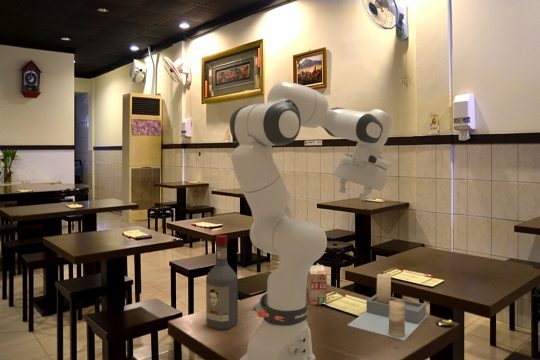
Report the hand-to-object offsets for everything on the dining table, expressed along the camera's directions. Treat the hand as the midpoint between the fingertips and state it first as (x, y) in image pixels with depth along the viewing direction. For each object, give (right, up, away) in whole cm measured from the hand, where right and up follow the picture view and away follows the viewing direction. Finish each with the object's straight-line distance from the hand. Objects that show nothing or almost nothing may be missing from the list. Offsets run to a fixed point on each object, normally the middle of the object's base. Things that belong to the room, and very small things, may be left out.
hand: (351, 195), depth 141 cm
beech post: (+12, -43, -11) cm, 46 cm away
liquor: (-44, -43, 0) cm, 62 cm away
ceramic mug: (-28, -43, +13) cm, 53 cm away
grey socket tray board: (+13, -43, 0) cm, 45 cm away
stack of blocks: (-9, -42, +28) cm, 51 cm away
